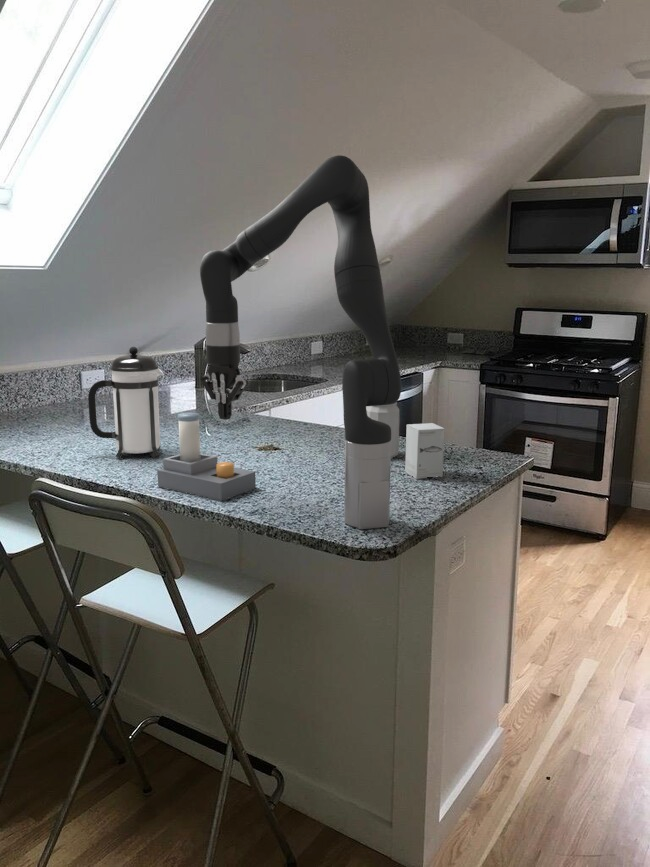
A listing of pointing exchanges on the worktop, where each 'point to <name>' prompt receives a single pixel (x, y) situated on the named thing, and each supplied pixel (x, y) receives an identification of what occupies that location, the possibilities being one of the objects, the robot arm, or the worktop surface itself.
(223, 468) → the button
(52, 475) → the worktop surface
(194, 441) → the cartridge
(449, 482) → the worktop surface
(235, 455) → the worktop surface
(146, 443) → the coffee press
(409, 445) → the supplement box
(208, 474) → the housing
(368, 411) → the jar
